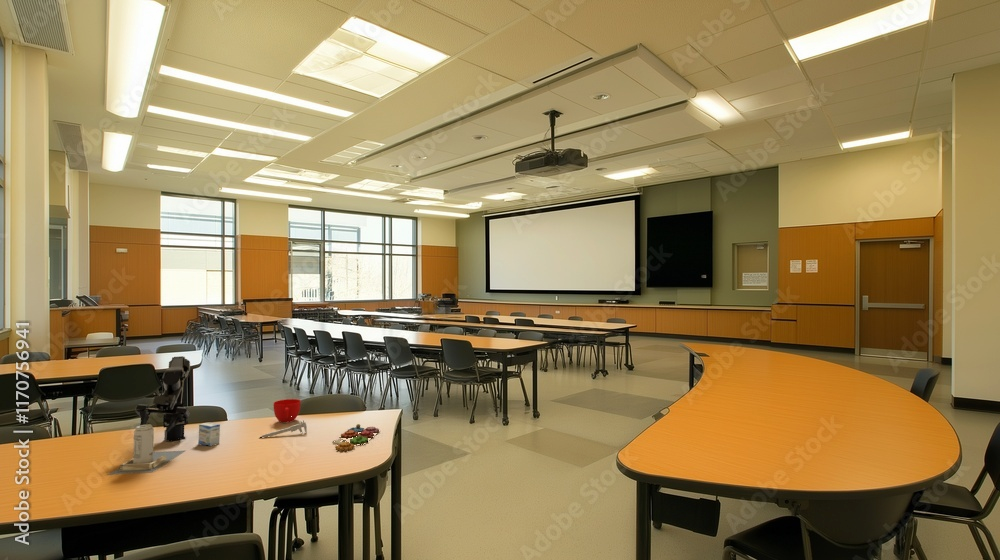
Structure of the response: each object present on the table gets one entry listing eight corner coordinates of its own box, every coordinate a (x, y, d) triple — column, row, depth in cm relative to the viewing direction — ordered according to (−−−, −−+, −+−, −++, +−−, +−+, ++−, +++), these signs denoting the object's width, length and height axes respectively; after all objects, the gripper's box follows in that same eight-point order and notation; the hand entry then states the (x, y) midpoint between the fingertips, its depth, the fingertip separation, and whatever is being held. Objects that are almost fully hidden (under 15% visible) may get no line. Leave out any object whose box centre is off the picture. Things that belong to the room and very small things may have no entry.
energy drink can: (154, 465, 178) (155, 425, 178) (134, 469, 174) (135, 429, 174) (151, 461, 182) (152, 422, 182) (131, 465, 178) (132, 426, 178)
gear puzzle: (357, 453, 194) (357, 444, 194) (320, 452, 195) (320, 442, 195) (381, 431, 225) (381, 423, 225) (349, 430, 226) (349, 422, 226)
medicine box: (198, 444, 203) (198, 424, 204) (207, 441, 208) (208, 422, 208) (210, 446, 201) (210, 426, 201) (219, 443, 205) (220, 423, 205)
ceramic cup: (272, 427, 228) (272, 407, 229) (273, 419, 244) (274, 400, 244) (300, 425, 234) (300, 405, 234) (300, 416, 249) (300, 398, 249)
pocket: (134, 461, 181) (135, 456, 181) (165, 460, 183) (165, 455, 183) (119, 470, 172) (119, 465, 172) (152, 469, 174) (152, 463, 174)
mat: (147, 452, 192) (147, 452, 192) (186, 451, 195) (186, 450, 195) (107, 475, 169) (107, 474, 169) (152, 473, 171) (152, 472, 171)
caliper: (306, 432, 221) (306, 419, 221) (306, 433, 220) (306, 420, 220) (258, 438, 213) (258, 424, 213) (258, 439, 212) (258, 425, 212)
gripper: (139, 385, 190) (121, 421, 180) (190, 389, 194) (174, 424, 184) (147, 397, 198) (129, 432, 188) (195, 401, 202) (181, 435, 192)
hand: (153, 431), depth 188 cm, fingers open, 9 cm apart
